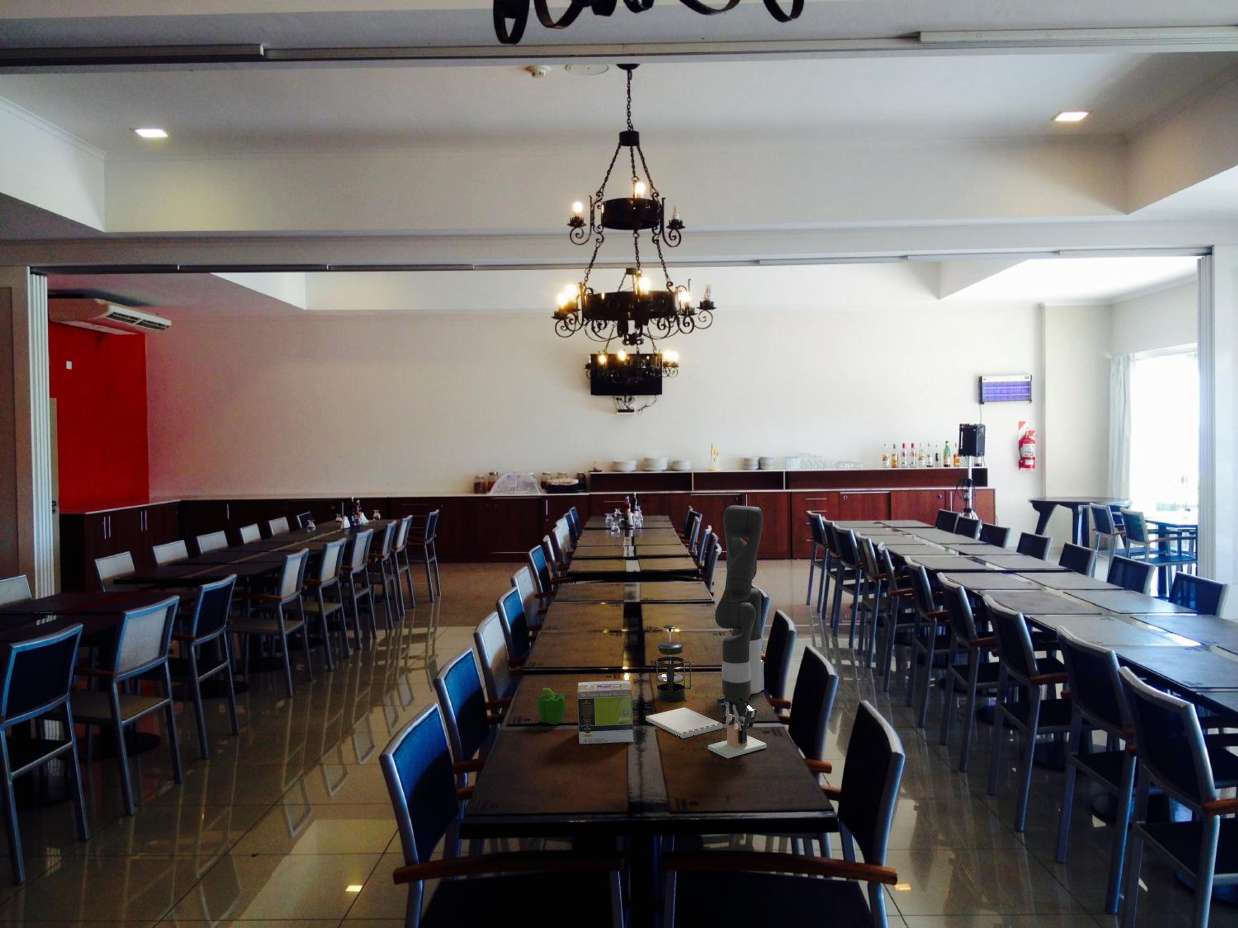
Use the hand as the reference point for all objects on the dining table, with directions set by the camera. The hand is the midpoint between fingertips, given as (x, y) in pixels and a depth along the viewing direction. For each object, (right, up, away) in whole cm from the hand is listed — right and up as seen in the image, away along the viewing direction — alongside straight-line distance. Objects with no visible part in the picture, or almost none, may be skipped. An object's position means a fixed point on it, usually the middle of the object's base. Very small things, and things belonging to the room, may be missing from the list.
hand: (737, 740), depth 230 cm
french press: (-14, -1, +45) cm, 47 cm away
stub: (0, -2, 0) cm, 2 cm away
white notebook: (-13, -2, +20) cm, 24 cm away
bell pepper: (-51, -2, +24) cm, 56 cm away
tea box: (-35, -3, +11) cm, 37 cm away
